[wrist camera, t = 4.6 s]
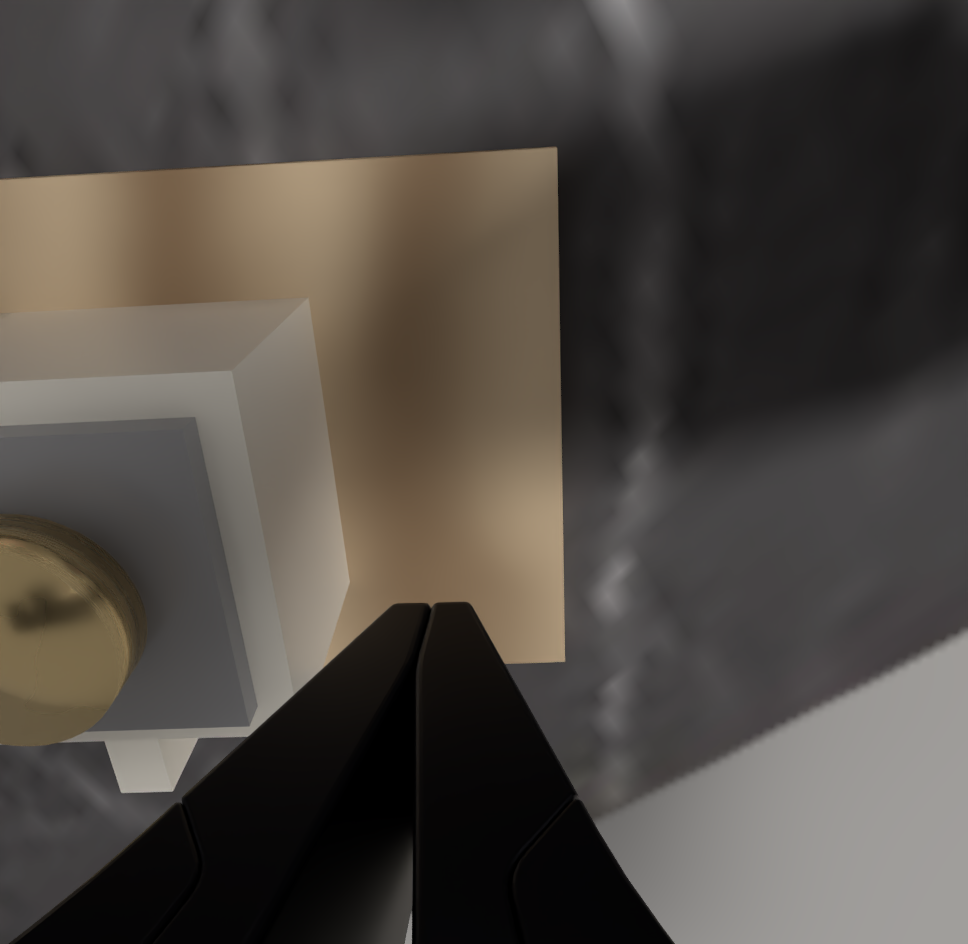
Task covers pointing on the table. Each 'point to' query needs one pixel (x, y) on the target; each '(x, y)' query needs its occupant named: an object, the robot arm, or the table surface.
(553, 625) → the serving board
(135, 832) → the table surface
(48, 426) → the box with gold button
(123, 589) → the gold push button
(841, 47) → the table surface
